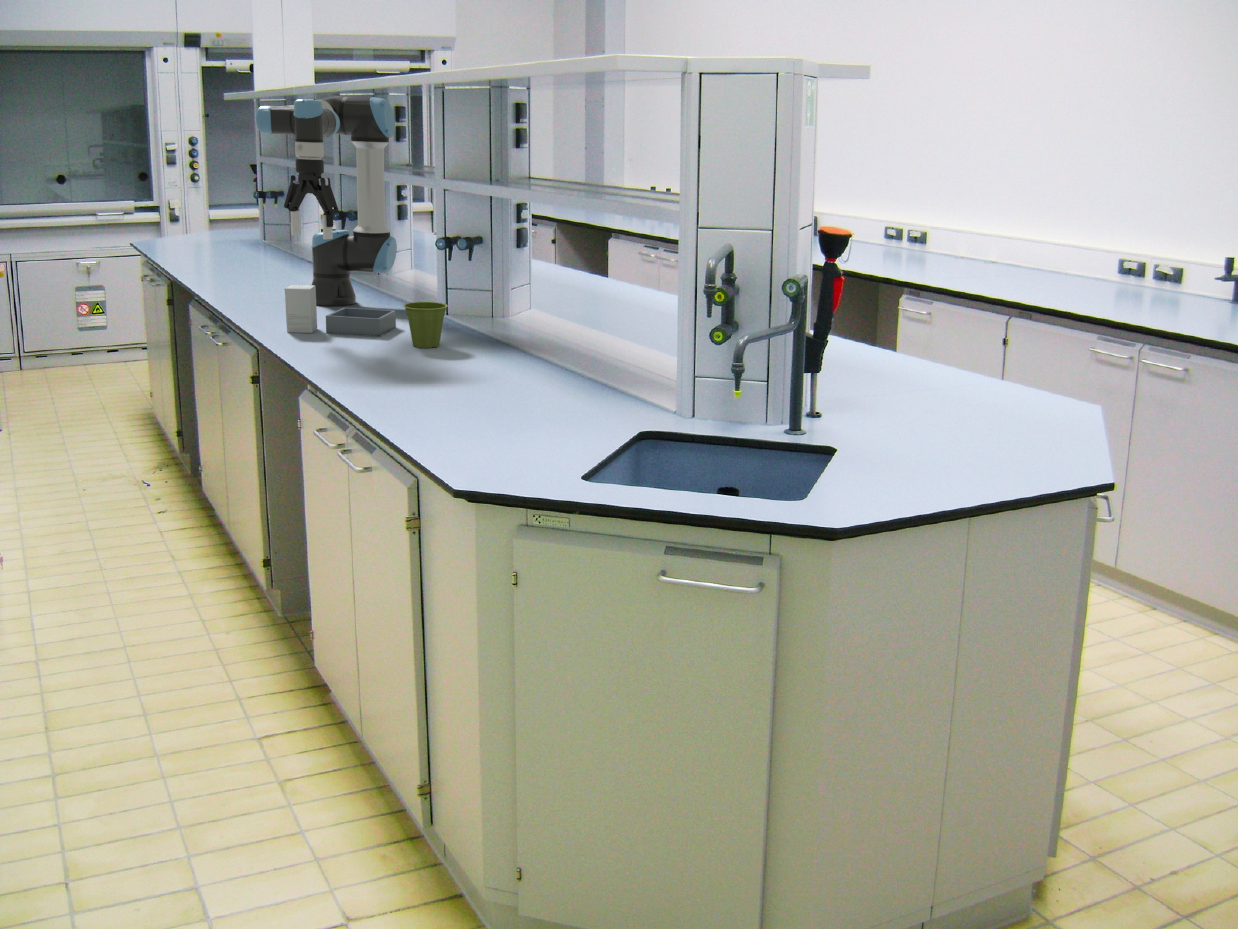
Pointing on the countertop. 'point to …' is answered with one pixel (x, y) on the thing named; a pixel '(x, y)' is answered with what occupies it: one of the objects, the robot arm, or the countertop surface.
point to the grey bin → (361, 322)
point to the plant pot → (425, 322)
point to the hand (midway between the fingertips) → (311, 237)
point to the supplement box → (301, 308)
